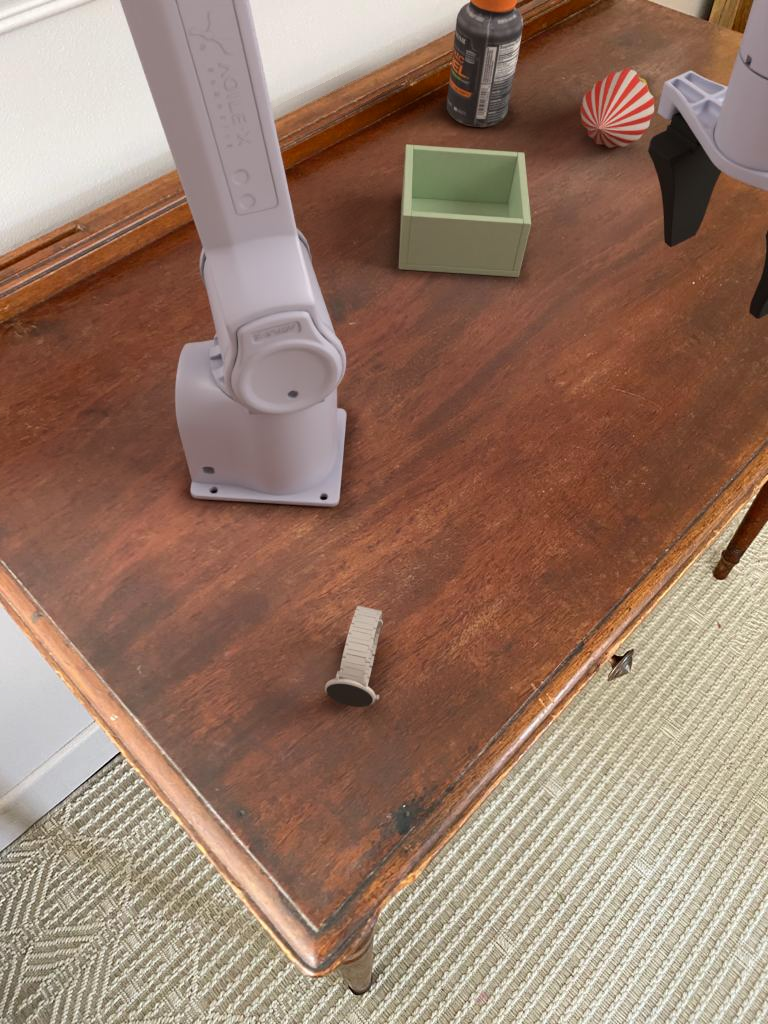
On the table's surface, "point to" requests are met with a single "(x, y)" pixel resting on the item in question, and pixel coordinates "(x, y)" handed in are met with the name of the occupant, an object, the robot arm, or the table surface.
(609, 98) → the striped christmas ornament
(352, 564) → the table surface
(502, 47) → the pill bottle
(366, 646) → the wristwatch
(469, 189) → the bin
